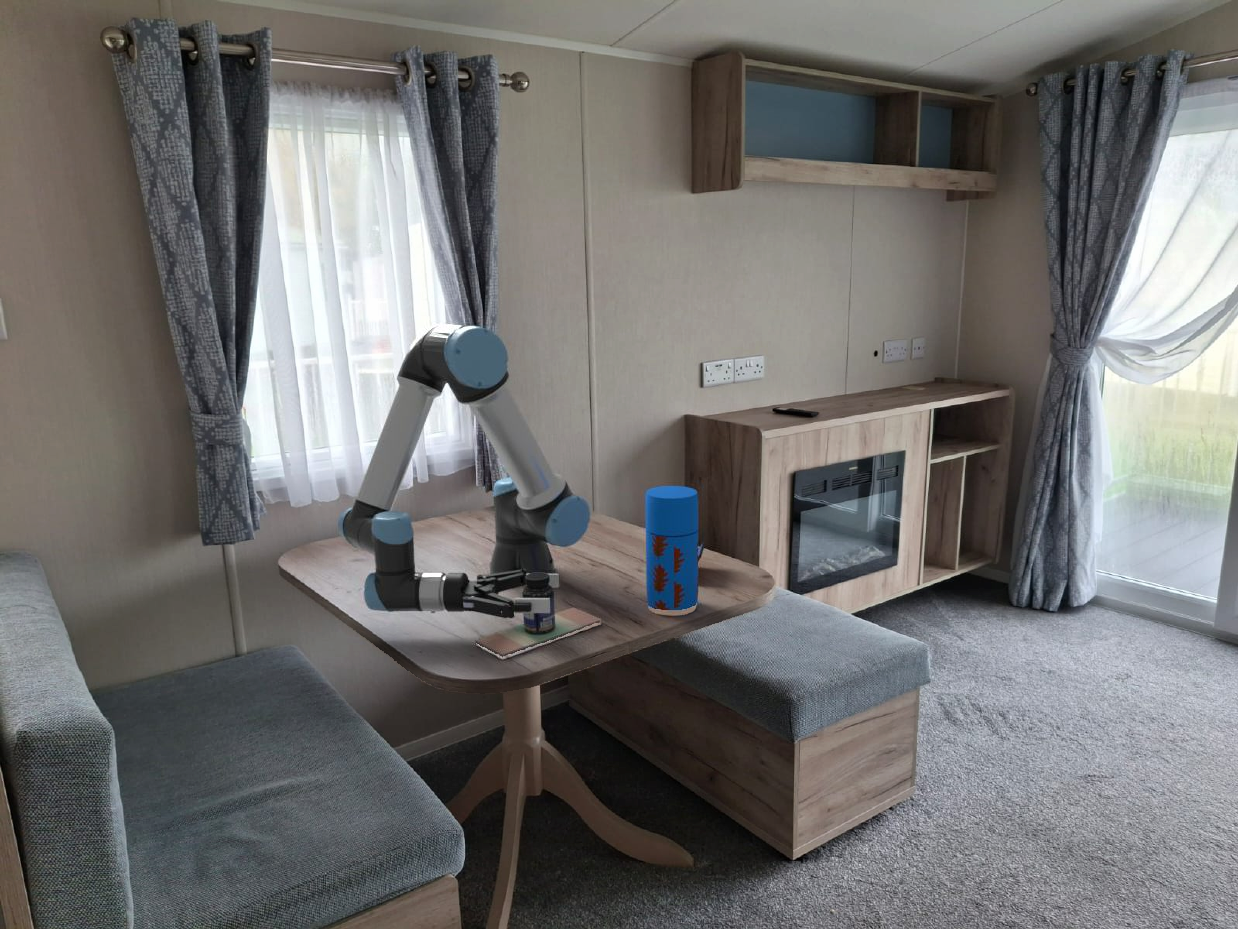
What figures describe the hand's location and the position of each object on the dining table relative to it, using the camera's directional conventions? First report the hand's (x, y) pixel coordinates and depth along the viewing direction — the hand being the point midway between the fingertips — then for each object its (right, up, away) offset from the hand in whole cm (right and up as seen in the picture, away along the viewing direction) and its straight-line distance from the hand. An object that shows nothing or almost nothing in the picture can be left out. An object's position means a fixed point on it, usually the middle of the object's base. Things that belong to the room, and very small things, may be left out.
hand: (554, 592), depth 174 cm
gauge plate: (-3, -9, +2) cm, 9 cm away
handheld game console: (+27, -1, +35) cm, 44 cm away
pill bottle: (-3, -8, +2) cm, 8 cm away
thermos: (+24, -5, +15) cm, 29 cm away
